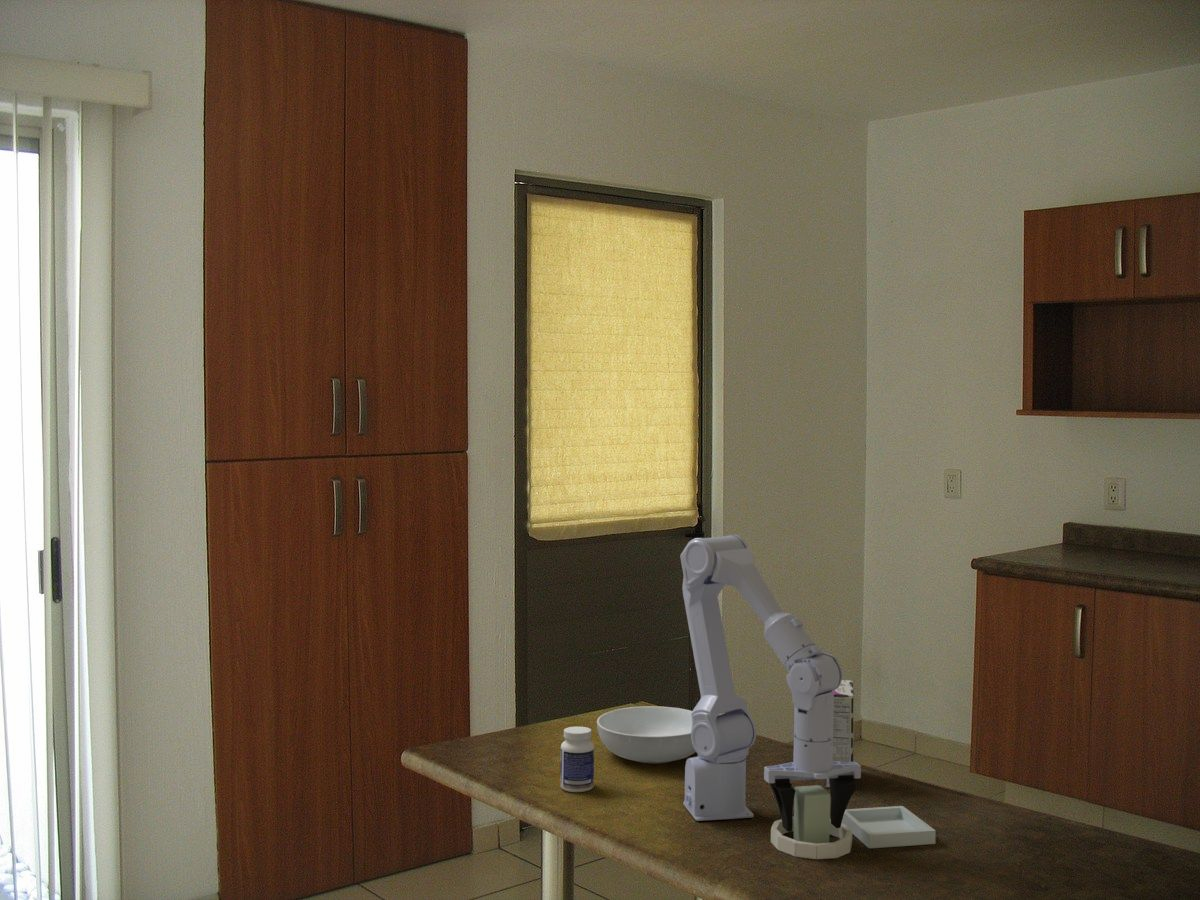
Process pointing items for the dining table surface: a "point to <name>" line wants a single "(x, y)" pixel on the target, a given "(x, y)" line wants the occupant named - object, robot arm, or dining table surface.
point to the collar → (809, 848)
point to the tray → (888, 827)
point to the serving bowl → (647, 733)
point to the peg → (811, 814)
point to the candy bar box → (843, 724)
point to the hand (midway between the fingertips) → (811, 827)
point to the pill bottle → (577, 760)
